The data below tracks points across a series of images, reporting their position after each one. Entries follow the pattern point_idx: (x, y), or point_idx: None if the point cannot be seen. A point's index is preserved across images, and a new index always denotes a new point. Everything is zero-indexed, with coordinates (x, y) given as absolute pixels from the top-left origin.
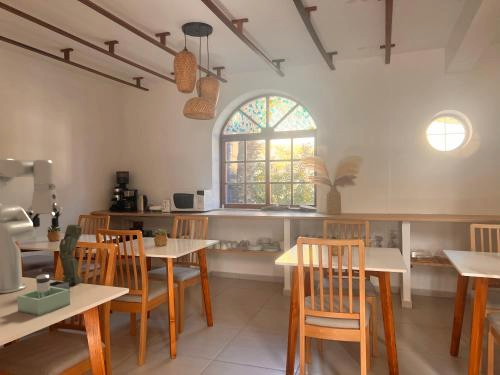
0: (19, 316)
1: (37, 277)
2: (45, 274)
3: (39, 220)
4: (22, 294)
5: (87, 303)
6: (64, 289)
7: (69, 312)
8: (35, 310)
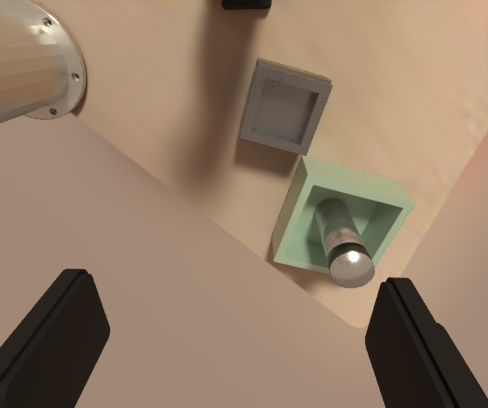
0: None
1: (344, 286)
2: (353, 260)
3: (38, 346)
4: (280, 251)
5: (451, 166)
6: (393, 201)
7: (425, 229)
8: None
